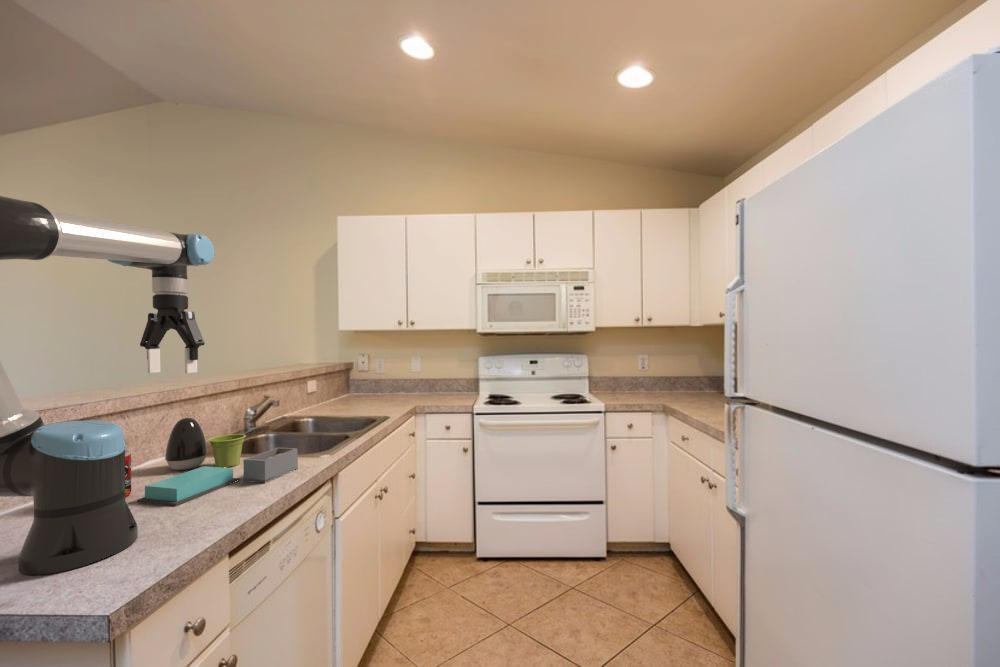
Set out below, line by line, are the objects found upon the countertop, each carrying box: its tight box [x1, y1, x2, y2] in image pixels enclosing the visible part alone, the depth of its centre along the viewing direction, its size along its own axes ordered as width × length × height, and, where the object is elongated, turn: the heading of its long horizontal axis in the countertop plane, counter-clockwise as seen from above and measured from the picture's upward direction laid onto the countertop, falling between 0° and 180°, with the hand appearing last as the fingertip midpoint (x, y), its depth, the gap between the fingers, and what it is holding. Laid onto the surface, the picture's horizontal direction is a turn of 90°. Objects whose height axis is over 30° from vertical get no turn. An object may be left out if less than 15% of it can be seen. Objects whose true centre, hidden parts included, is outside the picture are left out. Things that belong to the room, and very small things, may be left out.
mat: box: [136, 477, 240, 507], centre depth 103 cm, size 17×12×1 cm
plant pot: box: [208, 433, 247, 468], centre depth 124 cm, size 9×9×9 cm
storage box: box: [242, 447, 299, 483], centre depth 114 cm, size 7×12×6 cm, turn 166°
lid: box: [144, 465, 234, 502], centre depth 104 cm, size 10×15×3 cm, turn 166°
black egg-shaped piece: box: [164, 417, 208, 471], centre depth 123 cm, size 10×10×15 cm
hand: (172, 372), depth 110 cm, fingers open, 13 cm apart
